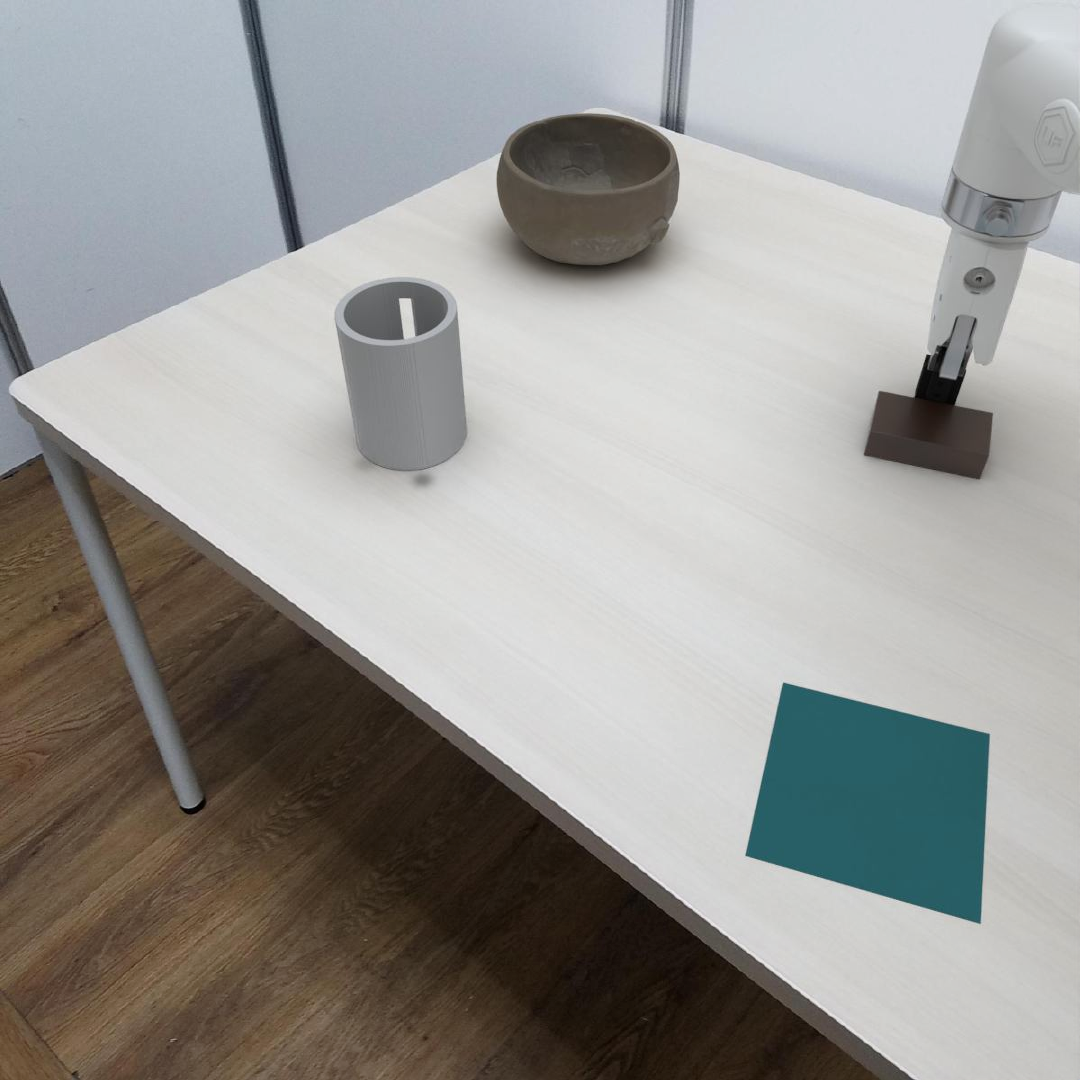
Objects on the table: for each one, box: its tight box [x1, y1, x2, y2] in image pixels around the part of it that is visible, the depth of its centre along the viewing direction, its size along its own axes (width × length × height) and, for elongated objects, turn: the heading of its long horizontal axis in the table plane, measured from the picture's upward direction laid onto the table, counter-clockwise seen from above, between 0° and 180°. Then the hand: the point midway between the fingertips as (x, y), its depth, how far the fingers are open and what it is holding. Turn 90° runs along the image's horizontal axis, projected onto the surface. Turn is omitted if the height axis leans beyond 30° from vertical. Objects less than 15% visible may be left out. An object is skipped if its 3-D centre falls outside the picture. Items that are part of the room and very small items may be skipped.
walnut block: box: [863, 390, 994, 480], centre depth 86 cm, size 9×6×2 cm, turn 70°
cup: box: [333, 276, 468, 471], centre depth 84 cm, size 9×9×12 cm
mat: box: [745, 682, 991, 924], centre depth 64 cm, size 13×13×1 cm
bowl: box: [496, 112, 681, 266], centre depth 106 cm, size 17×18×10 cm
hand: (933, 402), depth 89 cm, fingers closed
